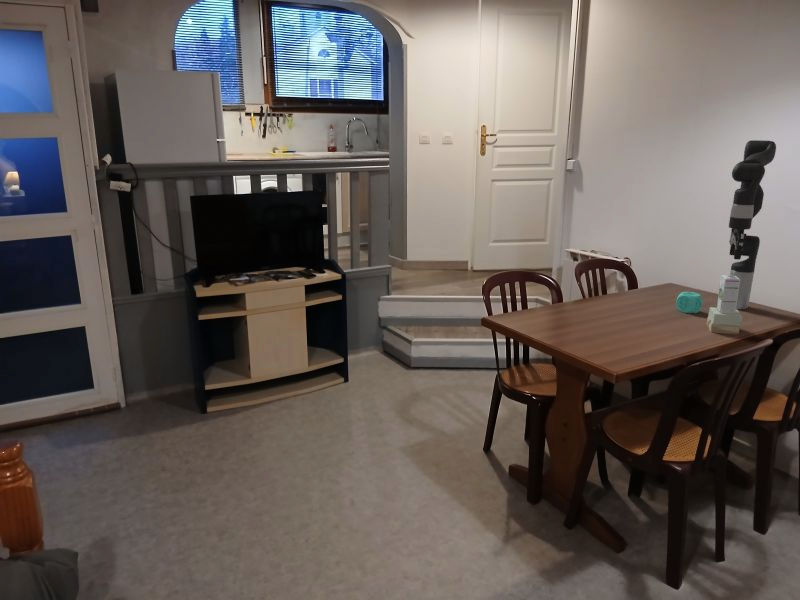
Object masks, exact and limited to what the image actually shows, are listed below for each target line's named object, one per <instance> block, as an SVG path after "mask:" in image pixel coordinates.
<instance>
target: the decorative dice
mask: <svg viewBox="0 0 800 600" xmlns="http://www.w3.org/2000/svg"><path fill="white" fill-rule="evenodd" d="M703 304H704V301H703V297H702V295H701V294H700V293H697V292H694V291H681V292H680V293H679V294H678V296H677V298H676V301H675V306H676V309H677V310H678V311H679V312H681V313H685V314H691V313H694V314H698V313H699V312H700V311H701V309H702V307H703Z"/></svg>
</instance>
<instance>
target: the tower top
mask: <svg viewBox="0 0 800 600" xmlns="http://www.w3.org/2000/svg"><path fill="white" fill-rule="evenodd" d="M708 316H709V318H710V320H711V321H712V323H713V324H724V325H736V326H740V327H741V326H742V322H743V315H742V314H741V312H740V311H739V309H736V313H735V314H727V313H720V312H719V311H718V310H717V307H711V306H709V310H708Z"/></svg>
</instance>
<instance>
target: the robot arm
mask: <svg viewBox="0 0 800 600" xmlns="http://www.w3.org/2000/svg"><path fill="white" fill-rule="evenodd" d="M776 152H777V144H776V143H775V141H772V140H761V139H760V140H756V139H755V140H753V139H752V140H748V141H747V142H746V144H745V146H744V153H743V160H742V161H739V162H737V163H736V164H735V165H734V167H733V168H732V170H731V171H732V172H731V177H732V179H733V180H734V181H735V182H737V183H740V186H739V187H740V188H737V189H736V190H735V191H734V195H733V200H732V205H731V209H730V213H729V214H730V216H729V222H728V228H729V229H731V230H730V231H731V232H730V238H729V241H728V242H729V245H730V247H729V256H733V259H734V260H738V261H735V262H733V263H731V265H730V266H731V267H730V273H729V275H733V276H737V277H738V278H739V279H740V285H739V293H738V300H737V306H736V309H737V310H746V309H745V308H747V309H748V308H749V303H750V298H751V292H752V287H753V281H754V274H755V268H756V262H757V257H758V253H759V250H760V249H759V248H760V243H761V240H760V237H759V236H757V235H747V233H745V230H751V228H752V223H753V219H754V218H755V217H756V216H757V215H758V214H759V213H760V212H761V210H762V206H763V201H764V196H765V194H764V189H763V188H762V186H761V181H762V180H763V178H764V176H765V173H766V167H765V166H767V165H769V164H771V163H772V161H773V160H774V158H775V155H776ZM742 257H747V258H746V259H744V260H741V258H742ZM739 260H740V261H739Z"/></svg>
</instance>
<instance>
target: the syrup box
mask: <svg viewBox="0 0 800 600" xmlns="http://www.w3.org/2000/svg"><path fill="white" fill-rule="evenodd" d="M719 283H720V284H719V289H718V296H717V303H716V308H717V310H718V311H719V312H720V313H727V314H735V313H736V306H737V300H738V293H739V285H740V279H739V278H738V277H737V276H733V275H730V274H723V275H720V282H719Z"/></svg>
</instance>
